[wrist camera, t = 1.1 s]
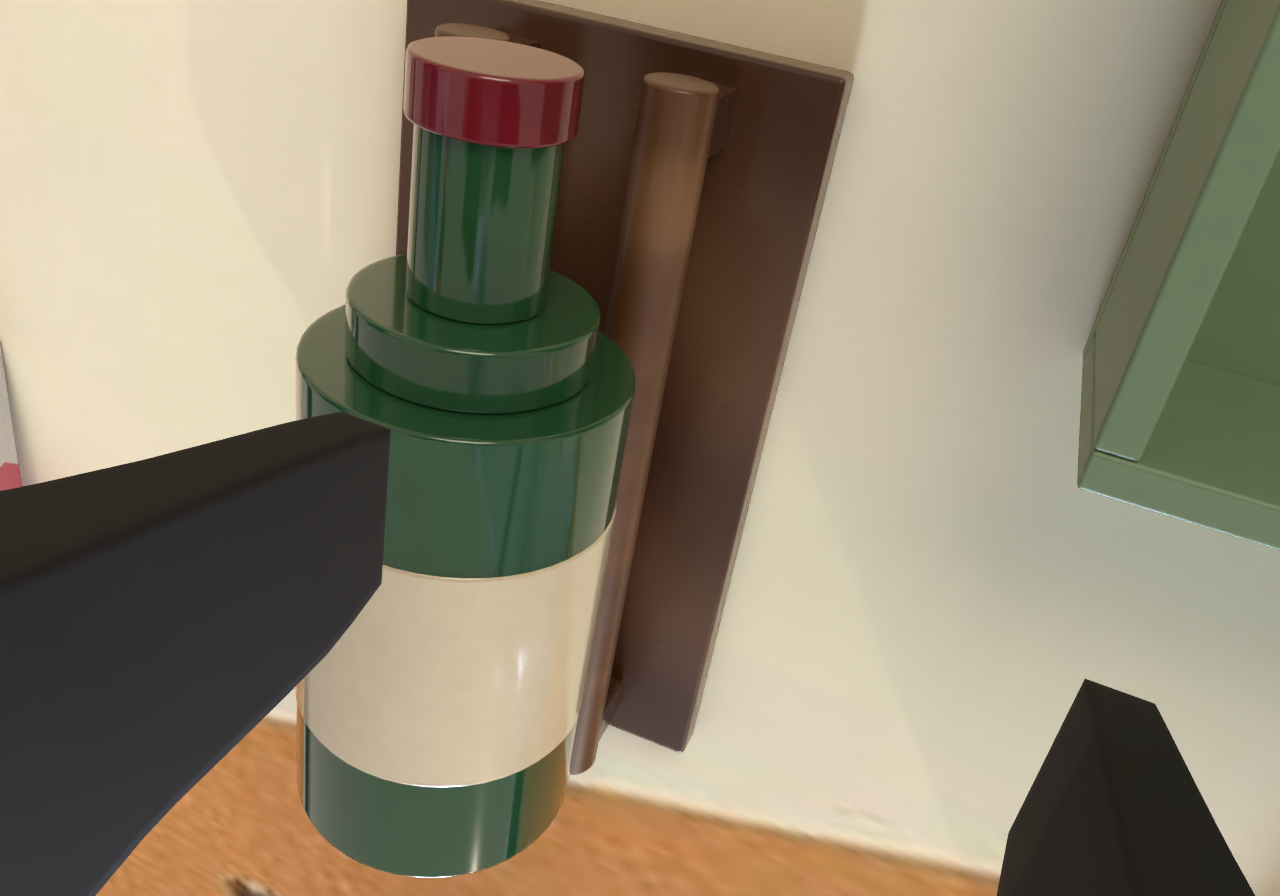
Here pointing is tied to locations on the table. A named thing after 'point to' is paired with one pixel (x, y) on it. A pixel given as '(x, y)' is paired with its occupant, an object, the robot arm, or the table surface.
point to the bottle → (468, 484)
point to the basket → (1199, 306)
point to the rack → (673, 309)
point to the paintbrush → (7, 440)
